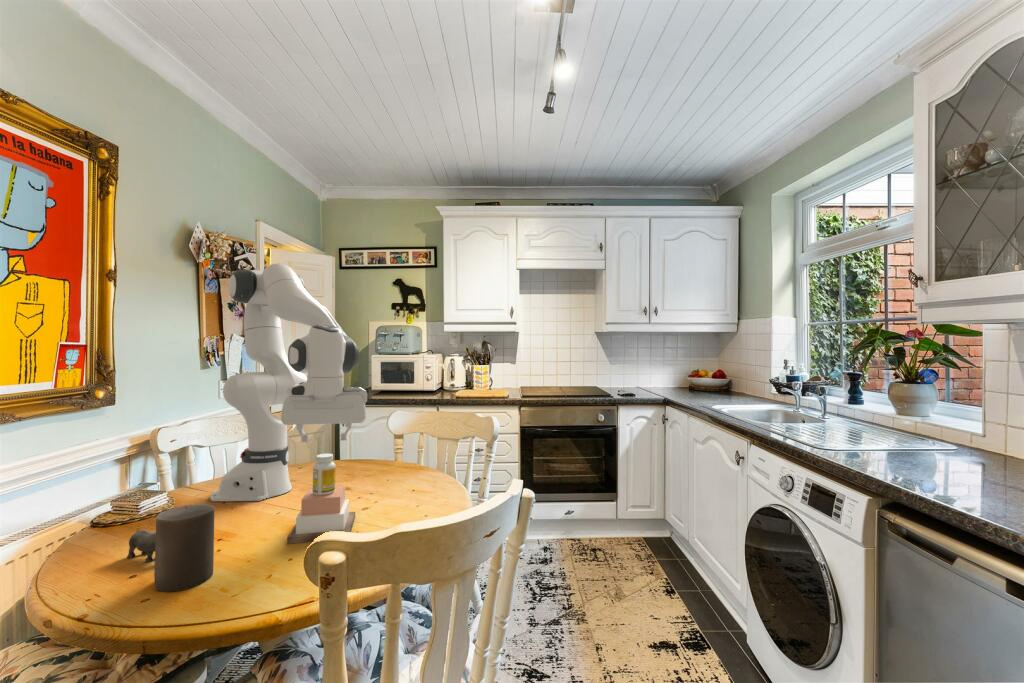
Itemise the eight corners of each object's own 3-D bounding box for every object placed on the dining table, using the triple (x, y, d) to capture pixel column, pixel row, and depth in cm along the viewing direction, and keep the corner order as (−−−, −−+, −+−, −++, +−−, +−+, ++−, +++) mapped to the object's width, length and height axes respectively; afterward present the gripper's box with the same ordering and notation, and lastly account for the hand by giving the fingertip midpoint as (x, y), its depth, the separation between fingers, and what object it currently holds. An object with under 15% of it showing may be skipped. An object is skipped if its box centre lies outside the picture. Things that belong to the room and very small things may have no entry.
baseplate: (287, 543, 107) (287, 537, 107) (300, 521, 120) (300, 515, 120) (349, 538, 110) (349, 532, 110) (355, 517, 123) (355, 511, 123)
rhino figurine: (168, 568, 95) (169, 539, 95) (122, 559, 99) (122, 532, 99) (187, 559, 99) (187, 532, 99) (142, 551, 102) (142, 524, 103)
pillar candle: (200, 589, 86) (202, 511, 87) (142, 595, 84) (144, 515, 85) (221, 566, 96) (223, 495, 96) (170, 570, 94) (172, 498, 94)
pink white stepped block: (295, 534, 108) (296, 501, 108) (305, 517, 119) (305, 487, 119) (343, 530, 111) (344, 497, 111) (348, 514, 122) (349, 484, 122)
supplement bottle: (308, 495, 112) (309, 457, 113) (318, 489, 118) (318, 452, 118) (330, 495, 112) (330, 457, 113) (338, 489, 118) (338, 452, 118)
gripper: (368, 386, 121) (367, 436, 121) (286, 386, 116) (285, 439, 116) (366, 388, 115) (365, 442, 115) (279, 389, 110) (278, 445, 110)
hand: (324, 440), depth 115 cm, fingers open, 8 cm apart
